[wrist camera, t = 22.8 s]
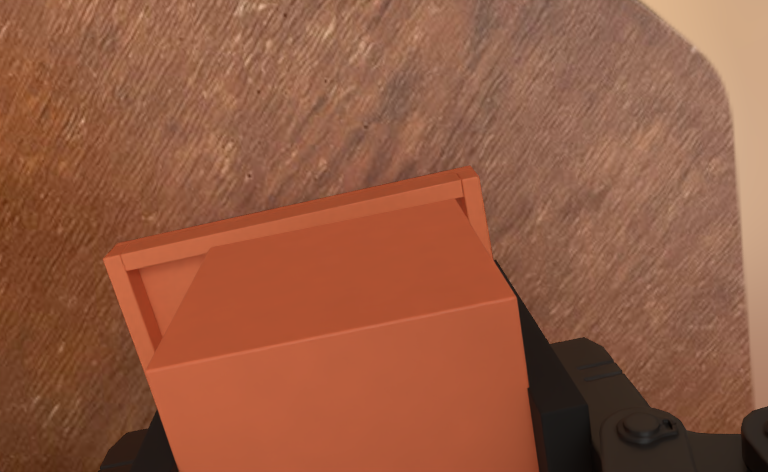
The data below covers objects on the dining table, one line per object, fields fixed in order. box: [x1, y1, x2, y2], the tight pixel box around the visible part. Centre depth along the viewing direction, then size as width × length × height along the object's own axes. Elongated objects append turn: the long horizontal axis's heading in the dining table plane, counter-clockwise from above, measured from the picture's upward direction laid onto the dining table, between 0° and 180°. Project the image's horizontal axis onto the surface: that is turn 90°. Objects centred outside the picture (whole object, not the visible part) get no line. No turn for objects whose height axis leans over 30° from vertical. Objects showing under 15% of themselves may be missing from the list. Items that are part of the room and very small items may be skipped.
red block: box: [145, 199, 539, 472], centre depth 15 cm, size 6×6×6 cm
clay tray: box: [103, 166, 493, 384], centre depth 33 cm, size 17×14×2 cm
